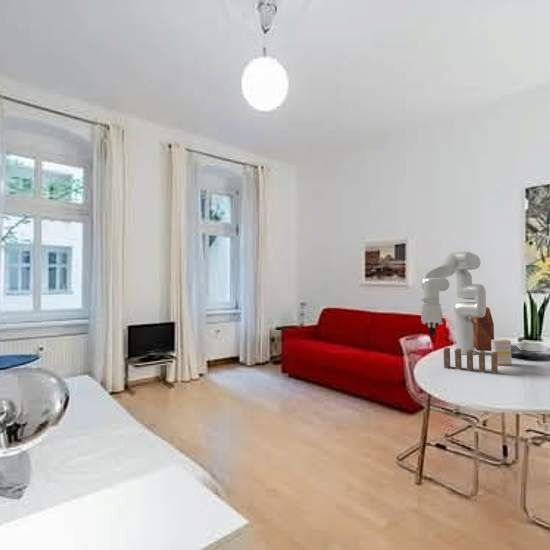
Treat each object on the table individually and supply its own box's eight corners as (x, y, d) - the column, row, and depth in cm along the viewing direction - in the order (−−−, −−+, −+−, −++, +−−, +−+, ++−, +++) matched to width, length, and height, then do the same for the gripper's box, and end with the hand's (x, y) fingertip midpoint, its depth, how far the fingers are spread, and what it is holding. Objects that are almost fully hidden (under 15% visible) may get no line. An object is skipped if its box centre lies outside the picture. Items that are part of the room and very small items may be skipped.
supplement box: (507, 363, 210) (506, 339, 210) (511, 365, 205) (511, 340, 205) (491, 363, 211) (490, 339, 211) (495, 365, 206) (495, 340, 206)
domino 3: (467, 370, 197) (466, 351, 197) (469, 368, 201) (468, 349, 201) (471, 371, 196) (470, 351, 196) (473, 369, 200) (472, 349, 200)
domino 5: (491, 373, 190) (491, 353, 190) (493, 371, 194) (492, 351, 194) (496, 374, 189) (495, 353, 189) (497, 371, 193) (497, 352, 193)
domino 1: (444, 368, 203) (443, 349, 203) (446, 366, 207) (445, 347, 207) (448, 368, 202) (447, 349, 202) (450, 366, 206) (449, 347, 206)
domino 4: (479, 372, 193) (478, 352, 193) (480, 370, 198) (480, 350, 197) (483, 372, 192) (483, 352, 192) (485, 370, 196) (484, 350, 196)
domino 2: (455, 369, 200) (454, 350, 200) (457, 367, 204) (457, 348, 204) (459, 369, 199) (459, 350, 199) (461, 367, 203) (461, 348, 203)
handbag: (487, 345, 261) (485, 293, 262) (494, 350, 243) (492, 295, 243) (470, 345, 264) (468, 294, 265) (476, 350, 246) (474, 295, 246)
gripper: (415, 301, 210) (416, 335, 210) (444, 301, 201) (445, 337, 201) (419, 300, 216) (420, 333, 216) (448, 301, 207) (448, 335, 207)
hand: (432, 335), depth 209 cm, fingers closed
